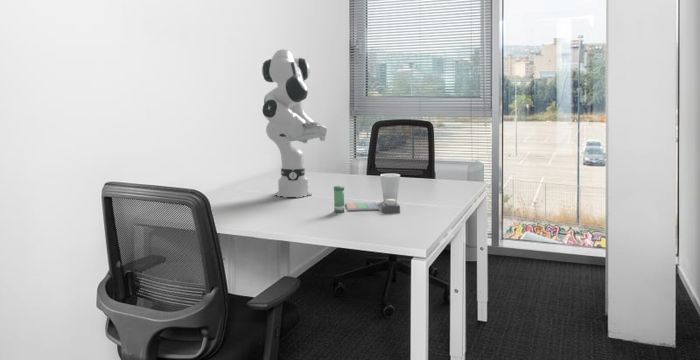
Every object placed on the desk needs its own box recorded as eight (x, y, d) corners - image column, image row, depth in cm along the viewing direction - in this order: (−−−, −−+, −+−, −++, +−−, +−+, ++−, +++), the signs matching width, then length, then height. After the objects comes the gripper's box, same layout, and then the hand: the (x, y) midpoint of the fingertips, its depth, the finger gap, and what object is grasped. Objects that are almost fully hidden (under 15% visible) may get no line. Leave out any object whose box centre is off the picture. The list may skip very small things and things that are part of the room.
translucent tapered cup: (383, 204, 254) (383, 176, 252) (378, 200, 263) (378, 173, 261) (402, 203, 256) (402, 176, 253) (396, 199, 264) (397, 173, 262)
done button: (384, 206, 240) (384, 199, 240) (394, 206, 241) (394, 198, 240) (386, 208, 236) (386, 201, 235) (396, 208, 236) (396, 200, 236)
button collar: (381, 209, 242) (381, 203, 241) (396, 209, 242) (396, 202, 242) (383, 213, 235) (383, 206, 234) (399, 212, 235) (399, 205, 235)
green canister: (333, 211, 240) (333, 186, 238) (344, 210, 240) (343, 185, 239) (334, 213, 235) (334, 187, 234) (345, 212, 236) (344, 187, 234)
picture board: (345, 204, 253) (345, 203, 253) (374, 203, 255) (374, 202, 255) (348, 211, 239) (348, 209, 239) (379, 210, 240) (379, 208, 240)
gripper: (316, 115, 214) (335, 130, 225) (277, 122, 225) (297, 136, 236) (313, 130, 212) (333, 144, 222) (274, 135, 223) (295, 149, 234)
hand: (314, 140), depth 229 cm, fingers open, 8 cm apart
